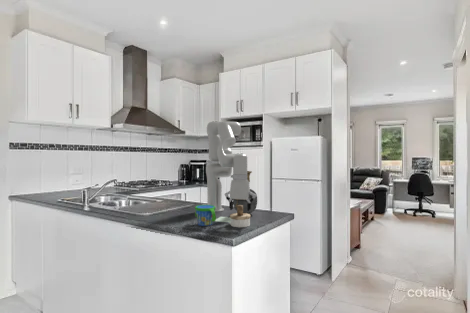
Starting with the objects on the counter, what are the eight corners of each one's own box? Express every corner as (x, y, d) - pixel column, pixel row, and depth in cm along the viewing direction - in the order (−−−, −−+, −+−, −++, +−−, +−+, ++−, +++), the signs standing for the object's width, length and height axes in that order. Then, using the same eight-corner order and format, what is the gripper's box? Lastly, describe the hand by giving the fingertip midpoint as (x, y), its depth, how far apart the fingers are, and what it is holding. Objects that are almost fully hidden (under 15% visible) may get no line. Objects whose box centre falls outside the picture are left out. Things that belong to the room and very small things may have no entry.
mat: (212, 222, 163) (212, 221, 163) (220, 217, 175) (220, 216, 175) (233, 223, 160) (233, 222, 160) (239, 219, 171) (239, 218, 171)
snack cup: (221, 226, 153) (221, 207, 153) (204, 230, 147) (204, 209, 147) (206, 221, 166) (206, 203, 166) (189, 223, 159) (189, 205, 159)
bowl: (228, 227, 152) (228, 218, 152) (234, 222, 162) (234, 214, 161) (246, 228, 149) (246, 220, 149) (251, 224, 158) (251, 216, 158)
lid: (226, 218, 152) (226, 206, 152) (233, 214, 162) (233, 203, 162) (247, 220, 148) (247, 208, 148) (252, 215, 159) (252, 204, 159)
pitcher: (259, 214, 183) (259, 166, 183) (242, 220, 168) (242, 168, 167) (244, 212, 190) (244, 166, 189) (227, 218, 174) (227, 167, 174)
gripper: (222, 177, 154) (222, 210, 154) (254, 178, 149) (254, 212, 149) (227, 176, 161) (227, 207, 161) (257, 177, 156) (257, 209, 156)
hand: (240, 209), depth 155 cm, fingers open, 9 cm apart
